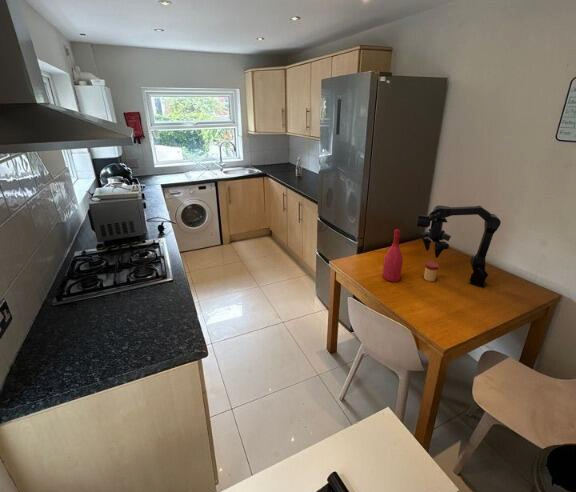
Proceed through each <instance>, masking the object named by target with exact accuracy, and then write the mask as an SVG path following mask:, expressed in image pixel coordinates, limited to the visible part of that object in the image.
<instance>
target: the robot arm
mask: <svg viewBox="0 0 576 492" xmlns="http://www.w3.org/2000/svg"><path fill="white" fill-rule="evenodd" d="M475 215H476V216H477V215H478V216H479V217H480V218H481V219H482V220H484V223H483V224H484V225H483V228H484V230H483V232H482V233H483V234H482V237H481V240H480V242H479V246H478V249H477V252H476V254H475V255H474V254H472V255H471V259H470V260H469V264H470V266H471V269H472V273H471V275H470V279H469V281H470V282H469V284H470V285H474V286H476V287H479V288H480V287H481V288H484V287H485V284H486V280H487V278H488V277H489V273H488V271H487V267H486V257H487V254H488V251H489V248H490V246H491V242H492V240H493V236H494V234H495V233H496V232H497V231H498V229H499V227H500V226H501V225H502V224H501V223H502V222H501V221H502V220H500V218H499V217H498V215H496V214H494V213H491V212H490V211H488V210H487V209H485V208H484V207H483V206H482V205H474V206H473V205H472V206H448V205H441V204H440V205H436V206H435V207H433V210H432V211H430V213H428V215H427V214H426V215H424V214H418V216H417V219H416V227H418V228H428V231H422V232H421V233H420V236H419V237H420V238H421V240H422V242H423V245H424V248H425V251H427V252H428V251H429V250H430V247H431V243H432V242H433V243H434V247H433V249H434V257H435V258H436V259H438V258H439V256H440V255H441V253H442V252H443V251H444V250H449V249H450V244H449V243H448V242H449V241H450V239H451V238H452V236H451V234H448V233H447V232H446V231H445V230H444V229H443V226H444V223H445V224H446V223H447V224H448V219H447V218H449V217H452V216H475ZM429 227H430V228H429ZM446 241H447V242H446Z"/></svg>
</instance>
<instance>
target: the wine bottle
mask: <svg viewBox="0 0 576 492" xmlns="http://www.w3.org/2000/svg"><path fill="white" fill-rule="evenodd" d="M401 233H402V230H401V229H399V228H395V229H394V233H393V242H392V244H391V246H390V248H389V249H388V251H387V253H386V254H385V256H384V258H383V259H384V260H383V266H382V278H383V279H384V280H385V281H388V282H391V283H392V282H393V283H394V282H398V281H399V280H400V279H401V275H402V269H403V264H404V263H403V254H402V252H401V248H400V238H401Z"/></svg>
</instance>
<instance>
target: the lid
mask: <svg viewBox="0 0 576 492" xmlns="http://www.w3.org/2000/svg"><path fill="white" fill-rule="evenodd" d="M424 267H426V268H428V269H430V270H437V269H438V270H439V268H440V267H439V264H438V263H437V262H434V261H426V262H425V265H424ZM438 270H437V271H438Z"/></svg>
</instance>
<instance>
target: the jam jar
mask: <svg viewBox="0 0 576 492" xmlns="http://www.w3.org/2000/svg"><path fill="white" fill-rule="evenodd" d="M424 267H425V266H424ZM438 270H439V268H438V269H437V270H430V269H428V268H426V267H425V268H424V274H423V279H424V280H426V281H428V282H435V281H436V280H437V275H438Z"/></svg>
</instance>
